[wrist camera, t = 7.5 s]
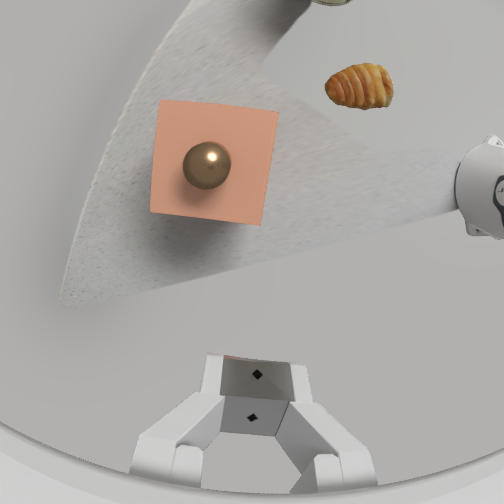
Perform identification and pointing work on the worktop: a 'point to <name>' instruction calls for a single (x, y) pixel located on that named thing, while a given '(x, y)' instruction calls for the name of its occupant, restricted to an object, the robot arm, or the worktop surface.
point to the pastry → (361, 87)
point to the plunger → (207, 165)
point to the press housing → (238, 145)
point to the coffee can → (332, 2)
